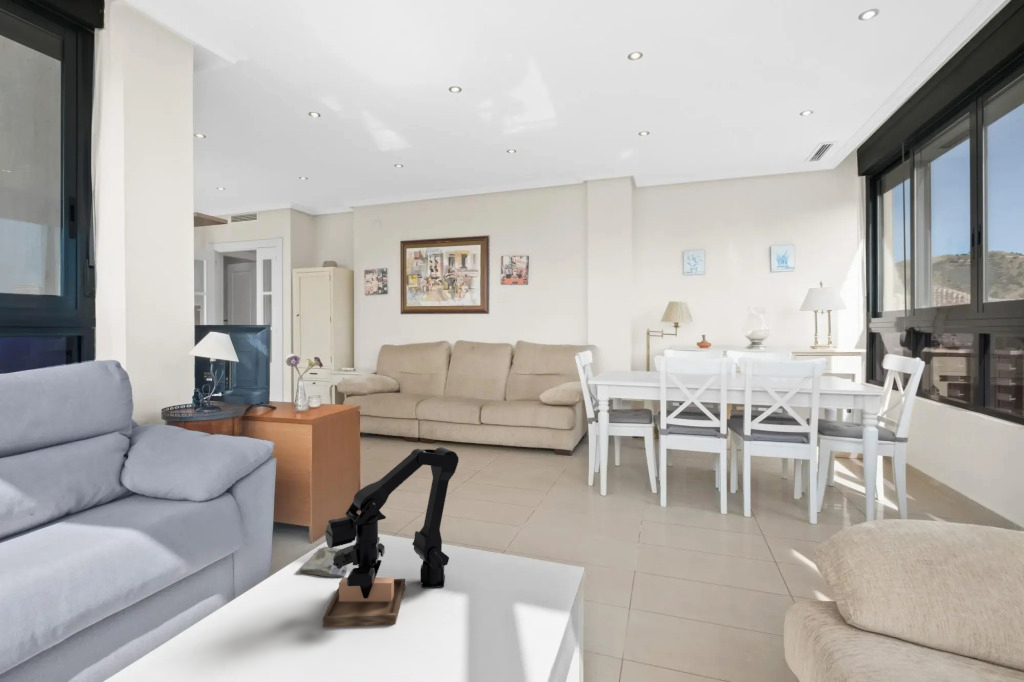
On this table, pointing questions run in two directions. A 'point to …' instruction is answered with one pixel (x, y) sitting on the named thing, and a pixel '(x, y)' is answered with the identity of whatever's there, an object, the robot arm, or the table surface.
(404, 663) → the table surface
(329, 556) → the fossil rock
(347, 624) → the tray
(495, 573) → the table surface
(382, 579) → the light brown rectangular block
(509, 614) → the table surface
